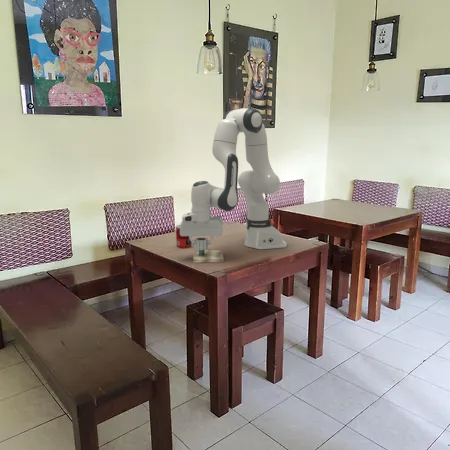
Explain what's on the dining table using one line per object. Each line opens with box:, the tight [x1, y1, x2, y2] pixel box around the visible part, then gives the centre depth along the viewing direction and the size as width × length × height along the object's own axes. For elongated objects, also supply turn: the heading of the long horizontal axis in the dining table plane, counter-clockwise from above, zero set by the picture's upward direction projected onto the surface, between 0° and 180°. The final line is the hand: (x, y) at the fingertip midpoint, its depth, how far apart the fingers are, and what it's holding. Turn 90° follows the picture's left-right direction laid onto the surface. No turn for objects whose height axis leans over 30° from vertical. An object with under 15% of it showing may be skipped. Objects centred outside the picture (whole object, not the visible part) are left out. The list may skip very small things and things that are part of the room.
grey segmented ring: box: [194, 236, 209, 251], centre depth 198 cm, size 6×6×4 cm
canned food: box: [175, 224, 193, 249], centre depth 218 cm, size 8×8×11 cm
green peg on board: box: [192, 249, 225, 264], centre depth 199 cm, size 14×14×8 cm
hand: (201, 244), depth 198 cm, fingers closed on grey segmented ring, 6 cm apart
